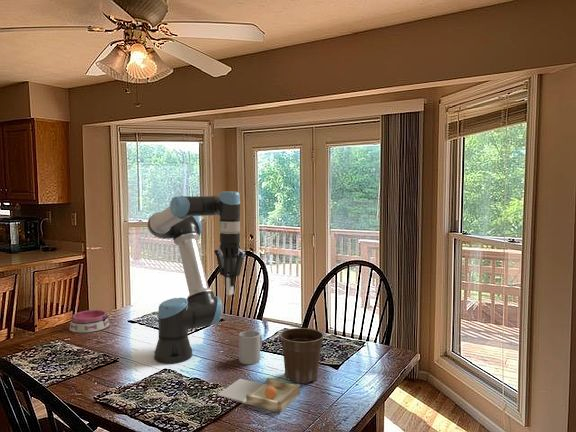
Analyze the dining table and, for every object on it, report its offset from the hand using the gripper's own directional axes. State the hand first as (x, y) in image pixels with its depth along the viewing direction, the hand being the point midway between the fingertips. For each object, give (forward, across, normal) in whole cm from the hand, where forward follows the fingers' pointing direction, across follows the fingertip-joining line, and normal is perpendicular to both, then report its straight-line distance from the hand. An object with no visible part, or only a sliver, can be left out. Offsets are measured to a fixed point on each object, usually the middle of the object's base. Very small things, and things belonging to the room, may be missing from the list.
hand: (229, 294), depth 169 cm
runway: (+29, +20, -13) cm, 38 cm away
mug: (+30, +2, +13) cm, 32 cm away
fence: (+29, +26, -13) cm, 42 cm away
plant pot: (+30, +27, +7) cm, 41 cm away
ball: (+27, +26, -14) cm, 40 cm away
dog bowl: (+30, -90, +10) cm, 96 cm away
